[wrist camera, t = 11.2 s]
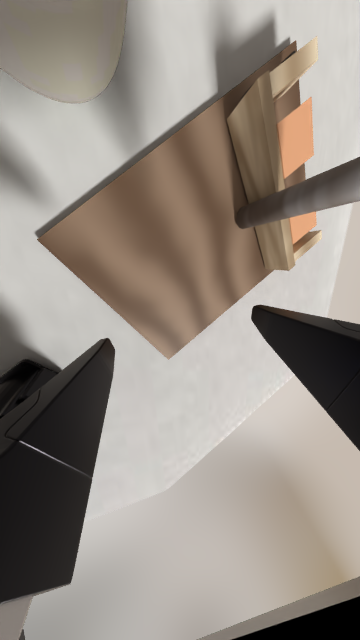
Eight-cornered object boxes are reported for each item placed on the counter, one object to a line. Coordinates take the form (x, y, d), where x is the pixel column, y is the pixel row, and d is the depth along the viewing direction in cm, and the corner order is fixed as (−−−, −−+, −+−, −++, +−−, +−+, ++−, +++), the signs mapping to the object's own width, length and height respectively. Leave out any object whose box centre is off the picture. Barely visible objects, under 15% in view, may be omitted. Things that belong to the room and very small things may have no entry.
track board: (167, 357, 23) (168, 359, 23) (40, 240, 13) (36, 239, 12) (305, 240, 24) (309, 239, 24) (289, 48, 14) (295, 40, 14)
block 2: (265, 246, 21) (293, 244, 18) (258, 219, 19) (288, 210, 16) (285, 230, 21) (316, 224, 18) (280, 201, 19) (315, 188, 16)
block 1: (252, 194, 18) (284, 178, 14) (243, 153, 16) (277, 123, 12) (276, 174, 18) (313, 154, 14) (269, 131, 16) (311, 96, 12)
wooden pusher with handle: (255, 280, 23) (369, 299, 12) (206, 128, 13) (493, -312, 3) (299, 243, 23) (445, 230, 13) (280, 70, 14) (761, -498, 3)
